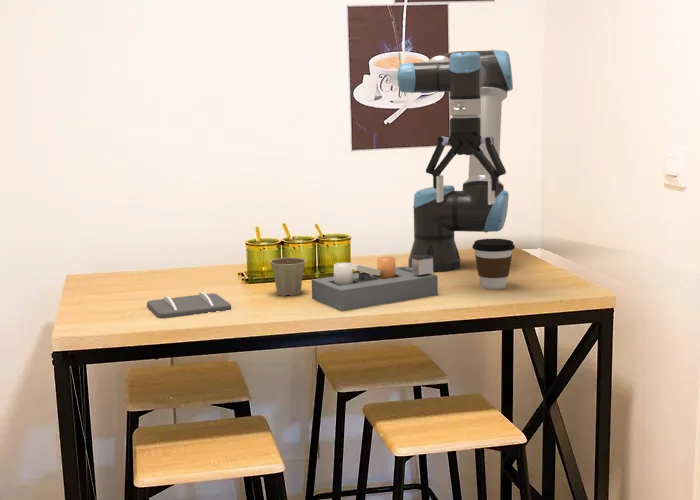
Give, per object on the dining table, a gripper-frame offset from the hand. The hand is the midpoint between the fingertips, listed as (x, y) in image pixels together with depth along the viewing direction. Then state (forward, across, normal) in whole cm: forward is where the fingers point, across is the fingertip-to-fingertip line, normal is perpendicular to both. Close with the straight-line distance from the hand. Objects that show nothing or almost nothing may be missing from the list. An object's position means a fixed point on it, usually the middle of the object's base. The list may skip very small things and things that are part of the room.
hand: (465, 203), depth 229 cm
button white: (+20, -24, -20) cm, 37 cm away
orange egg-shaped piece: (+20, -18, -9) cm, 28 cm away
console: (+23, -20, -12) cm, 33 cm away
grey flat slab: (+24, -57, -40) cm, 73 cm away
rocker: (+16, -21, -15) cm, 30 cm away
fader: (+18, -10, -5) cm, 21 cm away
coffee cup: (+24, +4, +10) cm, 26 cm away
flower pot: (+23, -42, -17) cm, 51 cm away
